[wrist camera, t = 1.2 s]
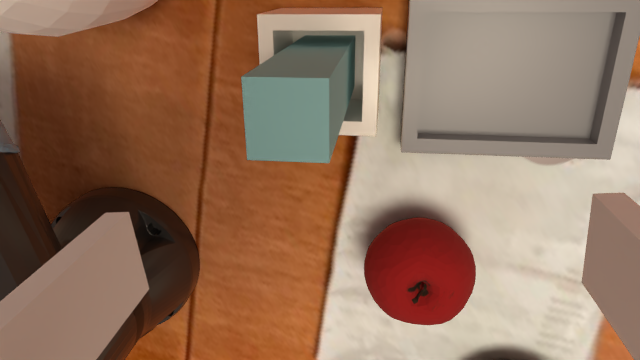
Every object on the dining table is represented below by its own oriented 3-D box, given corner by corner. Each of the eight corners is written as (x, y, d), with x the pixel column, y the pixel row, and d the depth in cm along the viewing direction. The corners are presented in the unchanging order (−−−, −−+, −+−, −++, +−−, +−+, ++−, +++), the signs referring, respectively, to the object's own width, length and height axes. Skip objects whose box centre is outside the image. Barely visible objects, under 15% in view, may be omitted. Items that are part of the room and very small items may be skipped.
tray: (400, 142, 42) (401, 152, 39) (409, -7, 37) (410, -6, 35) (597, 149, 40) (610, 159, 37) (632, -8, 35) (649, -7, 33)
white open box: (285, 105, 42) (263, 132, 34) (281, 7, 39) (256, 14, 31) (378, 108, 41) (376, 136, 33) (382, 7, 38) (380, 14, 30)
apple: (370, 286, 48) (365, 359, 39) (362, 203, 44) (355, 261, 35) (467, 284, 46) (486, 359, 37) (466, 198, 43) (487, 258, 34)
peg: (306, 85, 40) (247, 159, 23) (305, 35, 38) (241, 76, 22) (354, 86, 39) (329, 163, 23) (355, 35, 38) (329, 78, 21)
